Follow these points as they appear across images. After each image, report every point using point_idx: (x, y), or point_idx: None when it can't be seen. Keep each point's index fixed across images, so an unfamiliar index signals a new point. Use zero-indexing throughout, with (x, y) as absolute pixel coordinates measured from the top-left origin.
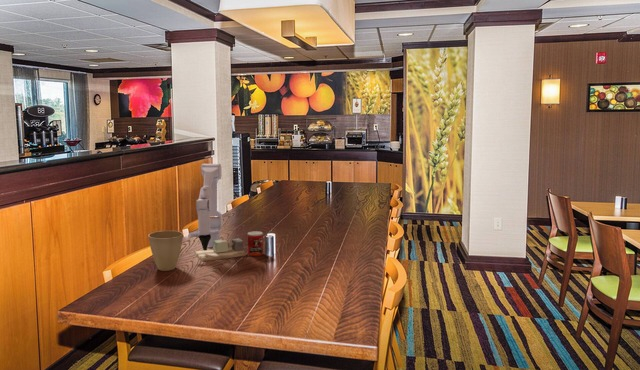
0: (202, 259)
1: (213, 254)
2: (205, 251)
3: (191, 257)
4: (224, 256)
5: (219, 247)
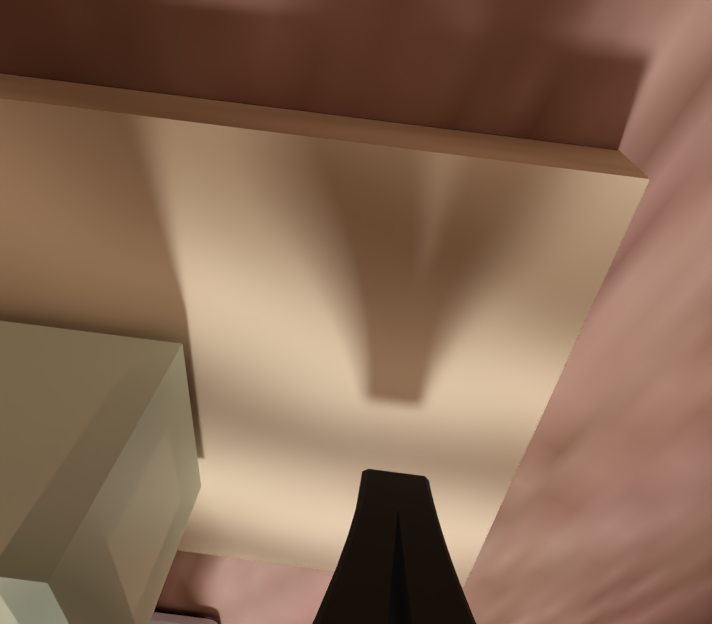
0: (623, 162)
1: (256, 313)
2: (328, 516)
3: (594, 459)
4: (18, 92)
5: (27, 421)
